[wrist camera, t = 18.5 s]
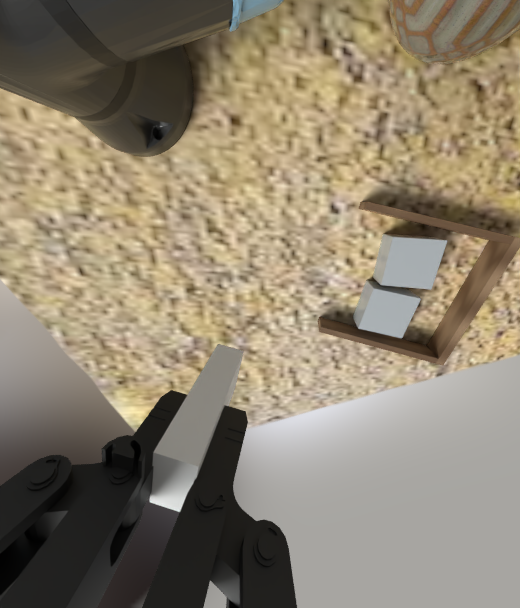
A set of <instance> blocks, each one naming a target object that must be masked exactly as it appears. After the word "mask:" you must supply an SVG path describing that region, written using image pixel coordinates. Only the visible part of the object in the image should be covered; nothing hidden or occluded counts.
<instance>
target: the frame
mask: <svg viewBox="0 0 520 608" xmlns="http://www.w3.org/2000/svg"><path fill="white" fill-rule="evenodd" d="M359 209H362V210H366V211H370V212H374V213H379V214H383V215H387V216H391V217H395V218H399V219H403V220H407V221H412V222H416V223H420V224H424V225H428V226H432V227H436V228H441V229H445V230H449V231H453V232H457V233H461V234H465V235H469V236H474V237H478V238H482V239H486V240H489V242H488V243H487V245H486V247H485V248H484V250H483V252H482V253H481V255H480V257H479V258H478V260H477V262H476V263H475V265H474V267H473V269H472V270H471V272H470V274H469V275H468V277H467V279H466V280H465V282H464V284H463V285H462V287H461V289H460V290H459V292H458V294H457V296H456V297H455V299H454V301H453V302H452V304H451V306H450V307H449V309H448V311H447V312H446V314H445V316H444V317H443V319H442V321H441V323H440V324H439V326H438V328H437V329H436V331H435V333H434V334H433V336H432V338H431V339H430V341H429V343H428V344H427V346H426V345H422V344H418V343H415V342H411V341H407V340H403V339H400V338H396V337H392V336H389V335H385V334H380V333H376V332H372V331H367V330H363V329H358V327H355V326H351V325H348V324H344V323H340V322H337V321H333V320H329V319H325V318H322V317H319V319H318V326H319V332H322V333H326V334H329V335H333V336H337V337H340V338H344V339H348V340H352V341H355V342H359V343H363V344H366V345H370V346H374V347H377V348H381V349H385V350H388V351H392V352H396V353H399V354H403V355H407V356H410V357H414V358H418V359H421V360H425V361H429V362H432V363H436V364H440V365H444V363H445V362H446V360H447V358H448V357H449V355H450V354H451V352H452V351H453V349H454V348H455V346H456V345H457V343H458V342H459V340H460V338H461V337H462V335H463V334H464V332H465V331H466V329H467V328H468V326H469V325H470V323H471V321H472V320H473V318H474V317H475V315H476V314H477V312H478V311H479V309H480V308H481V306H482V305H483V303H484V301H485V300H486V298H487V297H488V295H489V294H490V292H491V291H492V289H493V288H494V286H495V285H496V283H497V281H498V280H499V278H500V277H501V275H502V274H503V272H504V271H505V269H506V268H507V266H508V264H509V263H510V261H511V260H512V258H513V257H514V255H515V254H516V252H517V251H518V249H519V248H520V238H517V237H513V236H509V235H505V234H500V233H496V232H492V231H488V230H484V229H480V228H476V227H471V226H467V225H463V224H459V223H455V222H451V221H446V220H442V219H438V218H434V217H430V216H426V215H421V214H417V213H413V212H409V211H405V210H401V209H396V208H392V207H388V206H384V205H380V204H376V203H371V202H361V203H360V206H359Z"/></svg>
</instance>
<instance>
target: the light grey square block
mask: <svg viewBox="0 0 520 608" xmlns="http://www.w3.org/2000/svg"><path fill="white" fill-rule="evenodd" d="M446 244H447V240H443V239H439V238H434V237H426V236H410V235H394V234H383V236H382V240H381V244H380V249H379V253H378V257H377V262H376V266H375V270H374V275H373V278H374V279H375V280H376V281H377V282H378V283H379V284H380V285H386V286H397V287H408V288H420V289H432V286H433V283H434V280H435V277H436V274H437V271H438V268H439V265H440V262H441V259H442V256H443V253H444V250H445V247H446Z"/></svg>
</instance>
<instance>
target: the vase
mask: <svg viewBox="0 0 520 608" xmlns="http://www.w3.org/2000/svg"><path fill="white" fill-rule="evenodd" d="M388 3H389V12H390V19H391V23H392V27H393V31H394V33H395V36H396V38H397V40H398V41H399V43H400V45H401V46H402V47H403V49H404V50H405V51H406V52H407V53H408V54H410V55H411V56H412V57H414V58H415V59H417V60H419V61H422V62H425V63H430V64H449V63H455V62H459V61H463V60H466V59H469V58H472V57H474V56H477V55H479V54H481V53H483V52H485V51H487V50H489V49H491V48H492V47H494V46H496V45H498V44H499V43H501V42H502V41H504V40H505V39H507V38H508V37H510V36H511V35H512V34H514V33H515V32H516V31H518V30H519V29H520V0H388Z"/></svg>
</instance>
